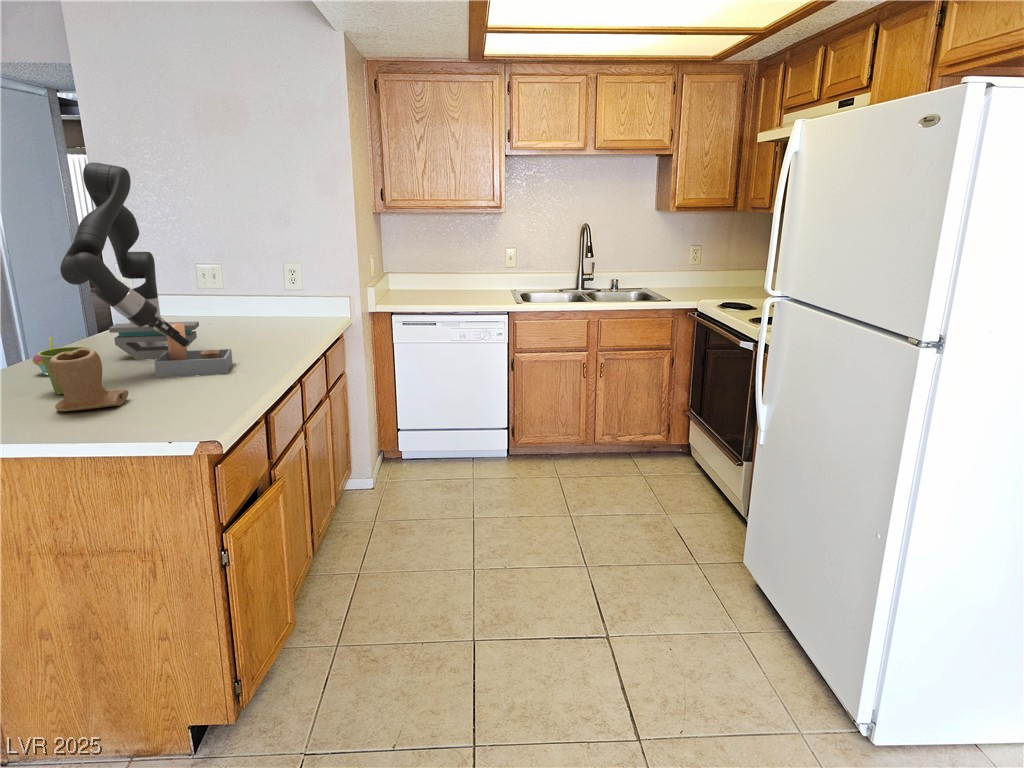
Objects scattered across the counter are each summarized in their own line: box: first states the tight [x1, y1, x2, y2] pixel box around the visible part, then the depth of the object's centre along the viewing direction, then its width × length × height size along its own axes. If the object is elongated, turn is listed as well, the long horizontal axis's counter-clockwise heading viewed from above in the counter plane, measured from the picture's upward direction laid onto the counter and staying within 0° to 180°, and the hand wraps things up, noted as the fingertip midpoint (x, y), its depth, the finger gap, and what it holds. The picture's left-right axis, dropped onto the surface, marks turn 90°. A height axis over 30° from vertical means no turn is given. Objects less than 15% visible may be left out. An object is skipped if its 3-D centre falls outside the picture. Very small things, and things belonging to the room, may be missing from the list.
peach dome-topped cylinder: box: [166, 323, 188, 361], centre depth 197 cm, size 5×5×11 cm
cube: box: [200, 349, 221, 359], centre depth 200 cm, size 5×5×5 cm
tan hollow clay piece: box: [49, 347, 129, 412], centre depth 160 cm, size 15×12×15 cm
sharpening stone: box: [108, 320, 200, 361], centre depth 216 cm, size 25×8×11 cm, turn 105°
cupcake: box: [31, 334, 54, 374], centre depth 192 cm, size 9×8×12 cm
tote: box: [154, 348, 233, 379], centre depth 199 cm, size 19×14×5 cm
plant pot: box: [37, 346, 91, 395], centre depth 174 cm, size 12×12×11 cm
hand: (183, 342), depth 198 cm, fingers closed on peach dome-topped cylinder, 5 cm apart
